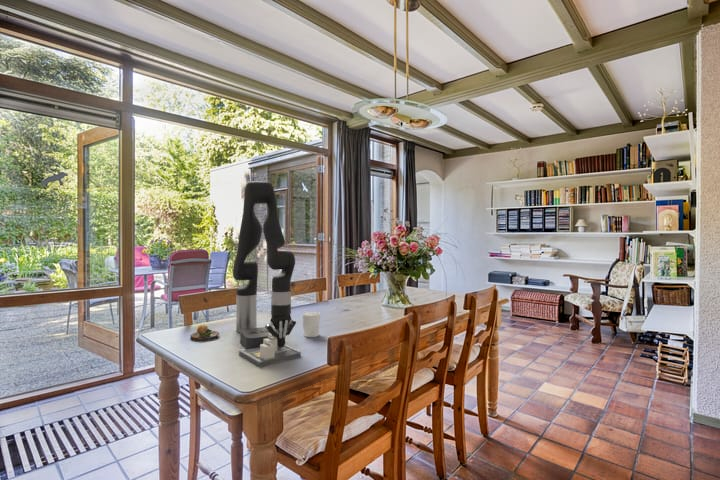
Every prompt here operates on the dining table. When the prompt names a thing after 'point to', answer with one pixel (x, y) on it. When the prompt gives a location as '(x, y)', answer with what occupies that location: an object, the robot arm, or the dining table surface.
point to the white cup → (311, 324)
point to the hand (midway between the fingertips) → (280, 346)
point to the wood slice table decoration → (204, 334)
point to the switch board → (280, 355)
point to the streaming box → (253, 337)
